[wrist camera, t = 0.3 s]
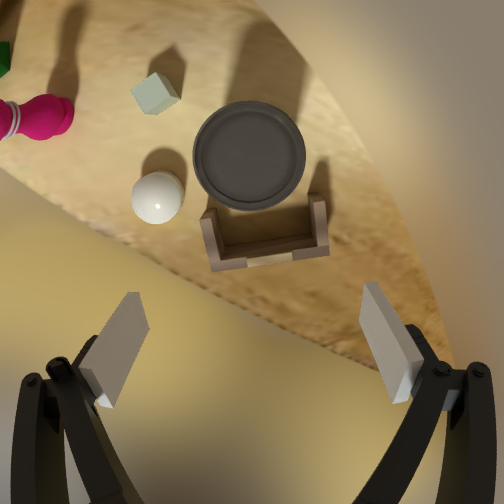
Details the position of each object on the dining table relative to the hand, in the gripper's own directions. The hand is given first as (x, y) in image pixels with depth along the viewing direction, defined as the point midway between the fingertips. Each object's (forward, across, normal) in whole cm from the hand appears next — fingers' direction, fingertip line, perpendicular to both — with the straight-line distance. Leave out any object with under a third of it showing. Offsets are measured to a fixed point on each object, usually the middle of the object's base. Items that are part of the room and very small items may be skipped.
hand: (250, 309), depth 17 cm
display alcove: (+27, +1, -4) cm, 27 cm away
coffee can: (+27, 0, +7) cm, 28 cm away
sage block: (+27, -12, +16) cm, 34 cm away
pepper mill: (+27, -30, +17) cm, 44 cm away
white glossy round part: (+27, -14, +2) cm, 30 cm away
